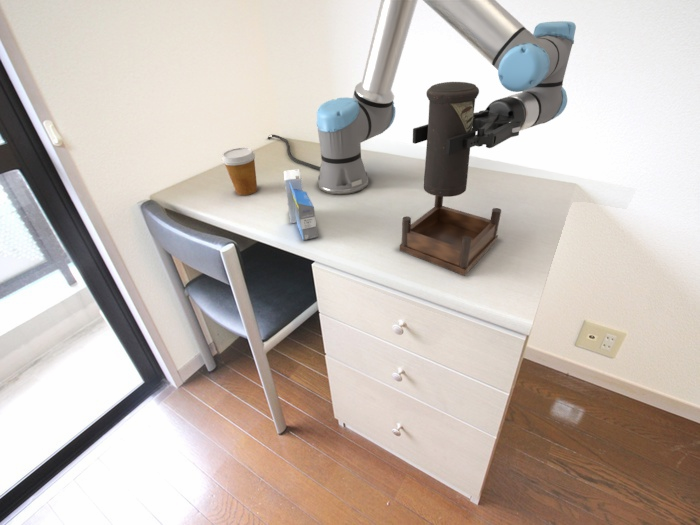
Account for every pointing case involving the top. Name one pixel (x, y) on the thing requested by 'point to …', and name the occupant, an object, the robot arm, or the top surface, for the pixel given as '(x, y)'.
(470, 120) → the container
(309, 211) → the tape cartridge
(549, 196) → the top surface
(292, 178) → the cosmetic box
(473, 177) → the top surface
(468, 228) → the wooden tray
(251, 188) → the disposable coffee cup
